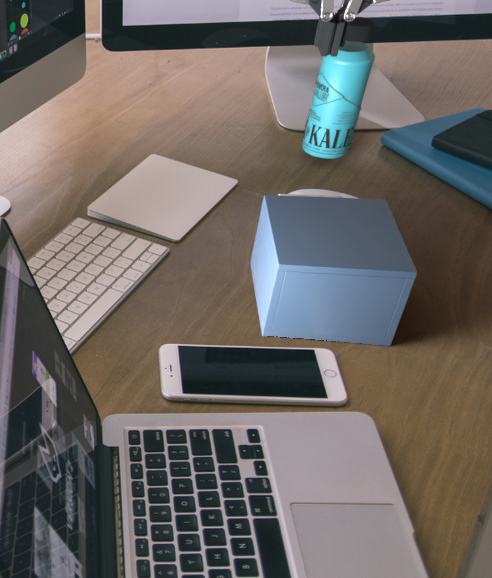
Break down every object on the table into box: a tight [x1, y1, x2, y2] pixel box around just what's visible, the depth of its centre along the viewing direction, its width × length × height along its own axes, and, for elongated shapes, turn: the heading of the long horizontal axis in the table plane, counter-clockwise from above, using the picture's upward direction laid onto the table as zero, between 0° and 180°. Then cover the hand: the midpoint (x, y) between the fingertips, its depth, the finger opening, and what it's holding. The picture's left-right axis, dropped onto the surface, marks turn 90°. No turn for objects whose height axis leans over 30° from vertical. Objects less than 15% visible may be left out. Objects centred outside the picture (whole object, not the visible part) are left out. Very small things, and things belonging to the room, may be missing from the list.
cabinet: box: [249, 194, 418, 347], centre depth 84 cm, size 14×13×10 cm
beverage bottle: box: [301, 16, 376, 159], centre depth 106 cm, size 6×7×20 cm
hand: (327, 51), depth 90 cm, fingers closed
